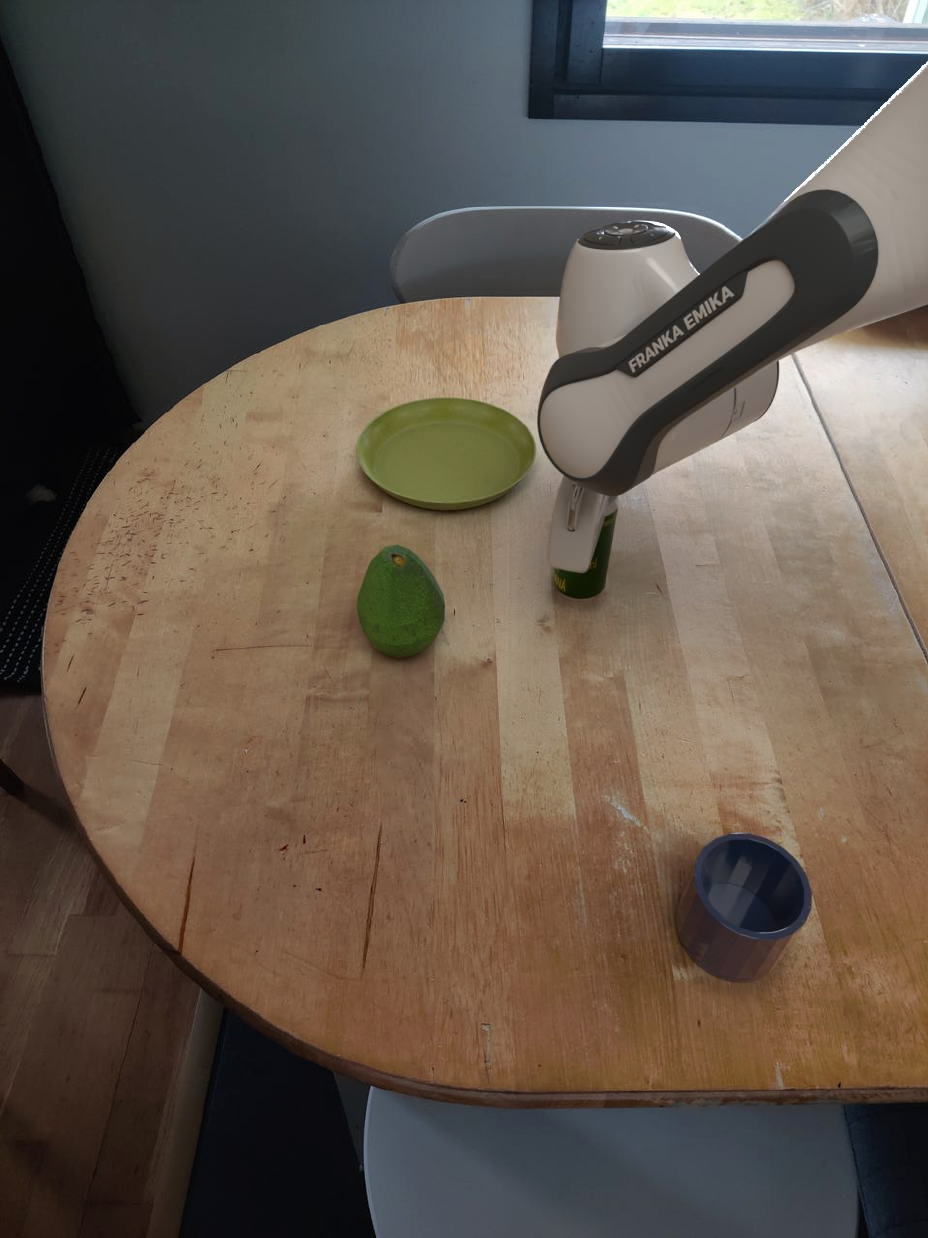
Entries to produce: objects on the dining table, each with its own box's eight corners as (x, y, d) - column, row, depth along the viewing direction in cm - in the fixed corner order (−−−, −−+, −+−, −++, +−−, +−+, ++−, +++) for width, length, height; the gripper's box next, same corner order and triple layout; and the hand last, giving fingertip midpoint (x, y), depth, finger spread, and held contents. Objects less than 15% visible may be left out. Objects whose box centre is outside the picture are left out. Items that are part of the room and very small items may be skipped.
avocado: (353, 672, 79) (340, 576, 70) (371, 611, 84) (361, 516, 76) (439, 681, 78) (436, 586, 69) (452, 620, 83) (450, 524, 75)
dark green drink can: (594, 564, 89) (608, 469, 80) (612, 599, 85) (629, 504, 77) (544, 572, 88) (553, 477, 80) (561, 608, 84) (572, 513, 76)
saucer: (330, 504, 96) (327, 480, 94) (395, 408, 110) (393, 385, 107) (508, 539, 92) (510, 516, 89) (552, 435, 105) (554, 412, 103)
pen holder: (785, 897, 64) (813, 850, 58) (780, 997, 58) (810, 955, 53) (682, 868, 65) (701, 820, 60) (668, 964, 60) (687, 919, 55)
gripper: (614, 499, 65) (594, 624, 75) (655, 367, 79) (634, 488, 89) (534, 484, 67) (525, 609, 77) (588, 357, 80) (574, 477, 90)
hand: (584, 543), depth 83 cm, fingers closed on dark green drink can, 5 cm apart
